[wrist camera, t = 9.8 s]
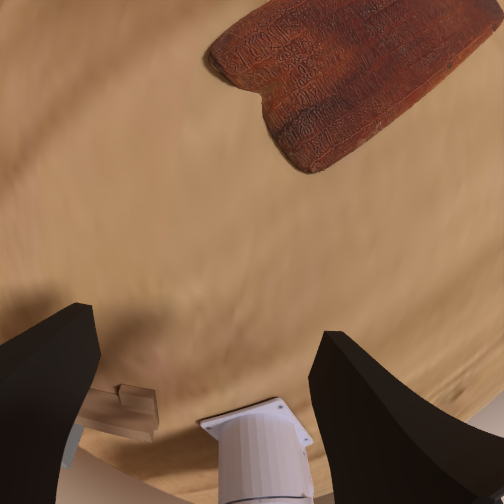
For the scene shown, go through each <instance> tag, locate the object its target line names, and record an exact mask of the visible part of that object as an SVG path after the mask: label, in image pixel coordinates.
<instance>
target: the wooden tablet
mask: <svg viewBox="0 0 504 504" xmlns="http://www.w3.org/2000/svg"><path fill="white" fill-rule="evenodd" d="M503 19H504V13H503V10H502V9H501V7H500V5H499V4H498V2H497V1H496V0H271V1H269V2H267V3H266V4H264V5H262V6H261V7H259V8H257V9H255V10H253V11H252V12H250V13H249V14H248V15H247V16H245V17H243V18H242V19H240V20H239V21H238V22H236V23H235V24H233V25H232V26H231V27H230V28H229V29H228V30H226V31H225V32H224V33H223V34H222V35H221V36H220V37H219V38H218V39H217V40H216V41H215V42H214V44H213V45H212V46H211V48H210V50H209V59H208V60H209V62H210V64H211V65H212V66H213V68H214V69H216V70H217V71H218V72H219V73H221V74H222V75H223V76H225V77H226V78H227V79H228V80H229V81H230V82H232V83H233V84H234V85H235V86H237V87H238V88H240V89H243V90H246V91H251V92H256V93H259V94H260V95H261V96H262V112H263V117H264V119H265V121H266V124H267V126H268V128H269V130H270V132H271V134H272V136H273V137H274V139H275V140H276V142H277V143H278V144H279V146H280V147H281V149H282V150H283V151H284V152H285V155H286V156H287V157H288V158H289V159H290V160H291V161H292V162H293V163H294V164H295V166H296V167H298V168H299V169H301V170H303V171H304V172H306V171H309V172H312V173H317V172H320V171H324V170H325V169H327V168H328V167H330V166H331V165H333V164H334V163H336V162H337V161H339V160H340V159H342V158H343V157H345V156H346V155H348V154H349V153H351V152H353V151H354V150H356V149H357V148H358V147H360V146H361V145H363V144H364V143H366V142H367V141H368V140H369V139H371V138H372V137H373V136H374V135H376V134H377V133H378V132H380V131H381V130H382V129H383V128H384V127H386V126H388V125H389V124H390V123H392V122H393V121H394V120H395V119H396V118H398V117H399V116H400V115H402V114H403V113H404V112H405V111H406V110H408V109H409V108H411V107H412V106H413V105H414V103H416V102H418V101H419V100H420V99H421V98H422V97H424V96H425V95H426V94H427V93H428V92H430V91H431V90H432V89H433V88H435V87H436V86H437V85H438V84H439V83H440V82H441V81H442V80H444V79H445V78H446V77H447V76H448V75H449V74H450V73H451V72H452V71H453V70H454V69H455V68H456V67H458V66H459V65H460V64H461V63H462V62H463V61H464V60H465V59H466V58H467V57H468V56H470V55H471V54H472V53H473V52H474V51H475V50H476V49H477V48H478V47H479V46H480V45H481V44H482V43H484V41H485V40H486V39H488V38H489V37H490V36H491V35H492V33H493V31H496V29H497V28H498V27H499V26H500V25H501V23H502V21H503Z"/></svg>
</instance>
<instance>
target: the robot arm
mask: <svg viewBox="0 0 504 504" xmlns="http://www.w3.org/2000/svg"><path fill="white" fill-rule="evenodd" d="M100 356H101V353H100V348H99V343H98V338H97V333H96V328H95V322H94V316H93V309H92V305H86V304H81V303H73V304H71V305H69V306H67V307H66V308H64V309H62V310H60V311H58V312H57V313H55V314H53V315H52V316H50V317H48V318H47V319H45V320H43V321H42V322H40V323H38V324H37V325H35V326H33V327H32V328H30V329H28V330H27V331H25V332H23V333H22V334H20V335H18V336H16V337H14V338H13V339H11V340H9V341H7V342H6V343H4V344H2V345H0V504H55V501H56V491H57V484H58V478H59V473H60V467H61V463H62V458H63V454H64V450H65V446H66V443H67V440H68V437H69V434H70V431H71V429H72V427H73V424H74V422H75V420H76V417H77V415H78V413H79V410H80V408H81V406H82V404H83V402H84V399H85V397H86V395H87V393H88V390H89V388H90V386H91V384H92V382H93V379H94V376H95V373H96V370H97V366H98V363H99V360H100ZM308 380H309V388H310V395H311V401H312V406H313V410H314V413H315V417H316V420H317V424H318V427H319V431H320V434H321V437H322V441H323V444H324V448H325V451H326V454H327V458H328V462H329V466H330V471H331V477H332V484H333V491H334V498H335V499H334V500H335V504H503V502H502V500H501V497H502V496H504V438H502V437H499V436H496V435H493V434H490V433H488V432H485V431H482V430H480V429H477V428H475V427H473V426H470V425H468V424H466V423H464V422H462V421H460V420H458V419H456V418H454V417H452V416H450V415H449V414H447V413H445V412H443V411H442V410H440V409H438V408H437V407H435V406H434V405H432V404H431V403H429V402H428V401H426V400H424V399H423V398H422V397H420V396H419V395H417V394H416V393H415V392H413V391H412V390H411V389H409V388H408V387H407V386H406V385H404V384H403V383H402V382H400V381H399V380H398V379H397V378H395V377H394V376H393V375H392V374H391V373H389V372H388V371H387V370H386V369H385V368H384V367H383V366H381V365H380V364H379V363H378V362H377V361H376V360H375V359H373V358H372V357H371V356H370V355H369V354H368V353H367V352H366V351H365V350H363V349H362V348H361V347H360V346H359V345H358V344H357V343H356V342H355V341H353V340H352V339H351V338H350V337H349V336H347V335H346V334H345V333H344V332H342V331H324V333H323V336H322V339H321V342H320V345H319V348H318V351H317V354H316V357H315V359H314V362H313V365H312V368H311V370H310V373H309V376H308ZM200 426H201V427H202V428H203V429H204V430H205V431H207V432H208V433H209V434H210V435H211V436H212V437H214V438H215V439H216V440H217V441H218V442H219V466H218V504H314V503H313V494H314V488H313V483H312V478H311V473H310V468H309V464H308V459H307V454H306V450H305V446H308V445H311V444H313V439H312V438H311V437H310V435H309V434H308V433H307V431H306V430H305V429H304V427H303V426H302V425H301V423H300V422H299V421H298V420H297V418H296V417H295V416H294V414H293V413H292V411H291V410H290V409H289V407H288V406H287V405H286V403H285V402H284V401H283V399H281V398H274V399H272V400H269V401H266V402H263V403H260V404H257V405H254V406H251V407H248V408H244V409H241V410H238V411H234V412H231V413H228V414H224V415H221V416H217V417H213V418H210V419H206V420H202V421H201V422H200Z"/></svg>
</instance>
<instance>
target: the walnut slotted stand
mask: <svg viewBox="0 0 504 504" xmlns="http://www.w3.org/2000/svg"><path fill="white" fill-rule="evenodd" d="M74 423H75V424H78V425H81V426H84V427H88V428H91V429H95V430H98V431H102V432H106V433H110V434H114V435H118V436H122V437H126V438H131V439H136V440H141V441H146V442H151V443H152V438H153V433H154V430H158V426H159V418H158V411H157V403H156V396H155V390H150V389H144V388H138V387H133V386H128V385H123V384H121V387H120V390H119V395H116V394H111V393H107V392H103V391H99V390H95V389H91V388H89V390H88V393H87V395H86V397H85V399H84V402H83V404H82V406H81V408H80V410H79V413H78V415H77V417H76V420H75V422H74Z"/></svg>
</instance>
